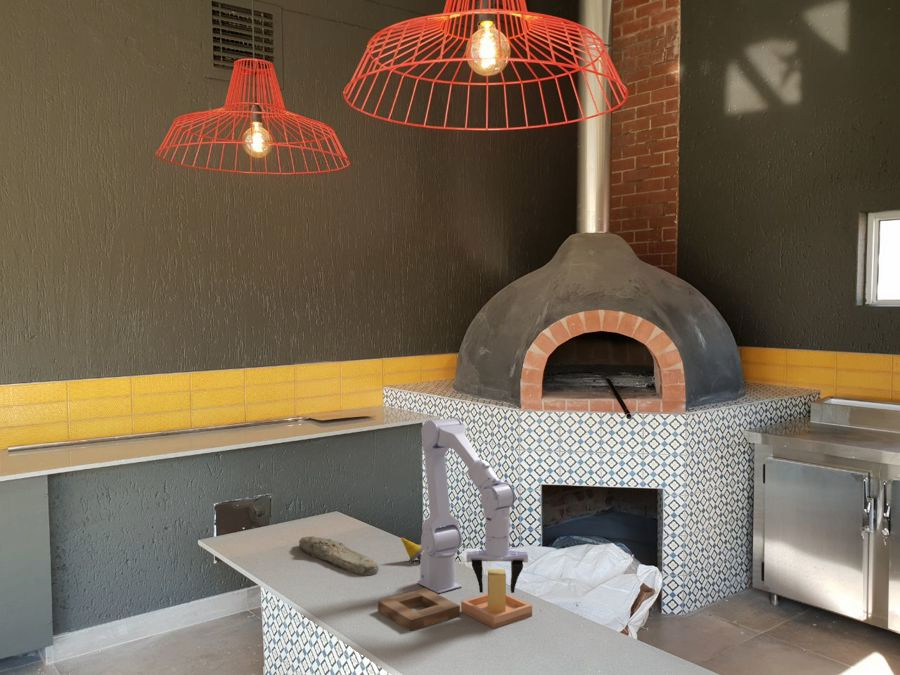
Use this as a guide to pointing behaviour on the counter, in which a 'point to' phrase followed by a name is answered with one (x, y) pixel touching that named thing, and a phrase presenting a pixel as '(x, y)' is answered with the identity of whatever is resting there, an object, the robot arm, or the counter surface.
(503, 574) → the peg
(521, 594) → the counter surface
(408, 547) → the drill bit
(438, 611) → the socket block
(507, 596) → the tray
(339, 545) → the long grey stone
